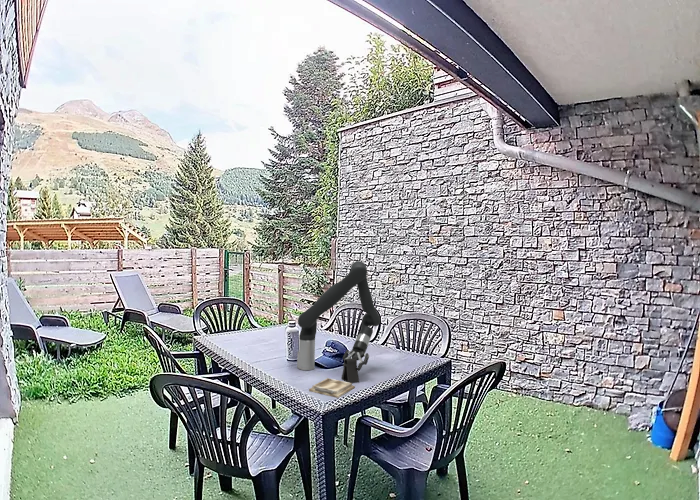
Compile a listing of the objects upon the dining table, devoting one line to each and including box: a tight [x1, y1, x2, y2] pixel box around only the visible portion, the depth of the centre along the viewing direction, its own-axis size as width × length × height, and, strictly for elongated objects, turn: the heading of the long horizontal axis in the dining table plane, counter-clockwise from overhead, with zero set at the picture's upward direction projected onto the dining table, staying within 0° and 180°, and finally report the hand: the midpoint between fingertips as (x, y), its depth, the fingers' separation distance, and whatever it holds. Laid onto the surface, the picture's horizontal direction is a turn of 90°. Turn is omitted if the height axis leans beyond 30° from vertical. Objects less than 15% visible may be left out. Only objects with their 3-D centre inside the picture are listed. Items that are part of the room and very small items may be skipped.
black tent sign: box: [340, 357, 360, 384], centre depth 244 cm, size 9×6×12 cm, turn 30°
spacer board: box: [308, 377, 356, 399], centre depth 230 cm, size 17×17×2 cm
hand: (351, 368), depth 245 cm, fingers open, 8 cm apart
